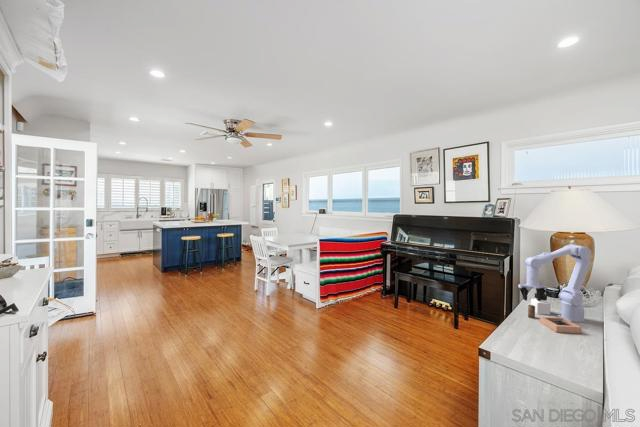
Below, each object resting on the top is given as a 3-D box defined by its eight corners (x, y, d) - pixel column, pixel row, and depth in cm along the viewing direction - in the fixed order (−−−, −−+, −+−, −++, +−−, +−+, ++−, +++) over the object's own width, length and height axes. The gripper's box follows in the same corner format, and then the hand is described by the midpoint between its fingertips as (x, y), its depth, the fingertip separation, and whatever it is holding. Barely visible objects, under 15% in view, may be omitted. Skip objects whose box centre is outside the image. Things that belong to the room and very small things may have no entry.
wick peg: (532, 316, 160) (532, 305, 160) (536, 318, 157) (536, 307, 157) (526, 316, 161) (527, 304, 160) (530, 318, 157) (530, 306, 157)
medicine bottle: (550, 315, 162) (551, 295, 162) (537, 314, 164) (537, 294, 164) (543, 310, 169) (543, 292, 169) (530, 309, 171) (531, 291, 171)
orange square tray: (562, 323, 151) (562, 317, 151) (581, 333, 139) (581, 327, 139) (539, 322, 152) (540, 316, 152) (556, 332, 140) (556, 326, 140)
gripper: (524, 279, 155) (523, 302, 155) (550, 280, 153) (550, 303, 154) (516, 275, 162) (515, 298, 162) (542, 276, 160) (541, 298, 161)
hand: (531, 300), depth 158 cm, fingers open, 7 cm apart
